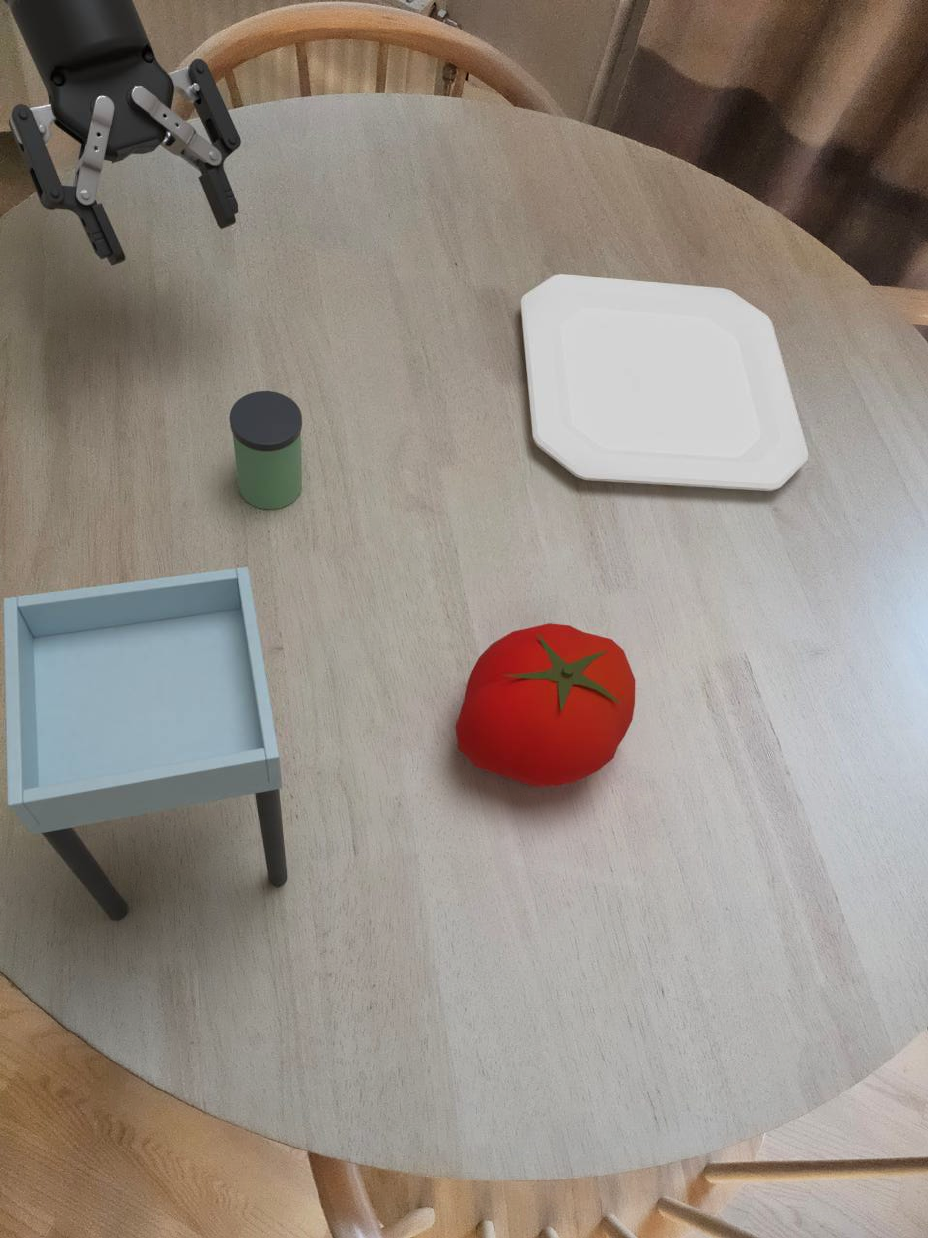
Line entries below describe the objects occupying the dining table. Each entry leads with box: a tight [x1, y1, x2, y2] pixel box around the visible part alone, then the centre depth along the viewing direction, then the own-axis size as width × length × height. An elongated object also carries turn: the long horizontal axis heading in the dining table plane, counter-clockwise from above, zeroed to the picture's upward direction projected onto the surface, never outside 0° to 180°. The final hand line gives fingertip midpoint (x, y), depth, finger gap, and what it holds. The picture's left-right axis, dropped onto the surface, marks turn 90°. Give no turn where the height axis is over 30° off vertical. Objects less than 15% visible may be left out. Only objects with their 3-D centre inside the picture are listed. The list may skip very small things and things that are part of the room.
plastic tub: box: [229, 390, 303, 511], centre depth 73 cm, size 5×5×8 cm
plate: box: [519, 273, 810, 492], centre depth 86 cm, size 25×25×2 cm
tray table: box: [2, 566, 289, 922], centre depth 52 cm, size 11×10×22 cm
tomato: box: [455, 622, 637, 788], centre depth 64 cm, size 11×13×10 cm
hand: (175, 243), depth 67 cm, fingers open, 8 cm apart
